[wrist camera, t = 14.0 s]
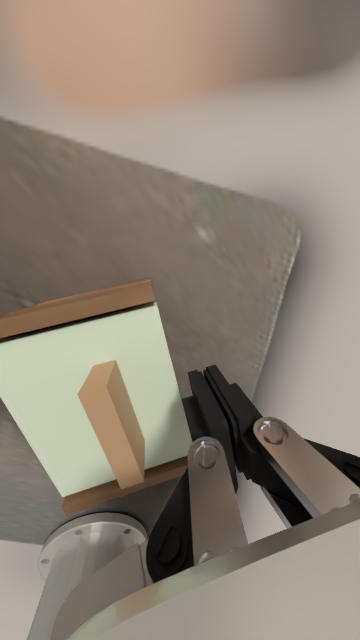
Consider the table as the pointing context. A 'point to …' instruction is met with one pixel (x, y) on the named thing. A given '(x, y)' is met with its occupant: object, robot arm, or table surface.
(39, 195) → the table surface
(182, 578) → the robot arm
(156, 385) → the lid
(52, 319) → the brown wooden box
